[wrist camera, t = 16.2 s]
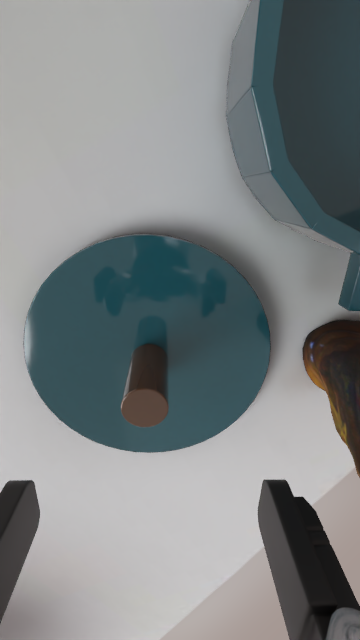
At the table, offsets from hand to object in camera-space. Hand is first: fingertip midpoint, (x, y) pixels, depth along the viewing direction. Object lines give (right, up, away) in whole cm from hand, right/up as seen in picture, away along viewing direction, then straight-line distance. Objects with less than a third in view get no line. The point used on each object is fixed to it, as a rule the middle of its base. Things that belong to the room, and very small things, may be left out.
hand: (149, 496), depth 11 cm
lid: (-1, +4, +9) cm, 10 cm away
